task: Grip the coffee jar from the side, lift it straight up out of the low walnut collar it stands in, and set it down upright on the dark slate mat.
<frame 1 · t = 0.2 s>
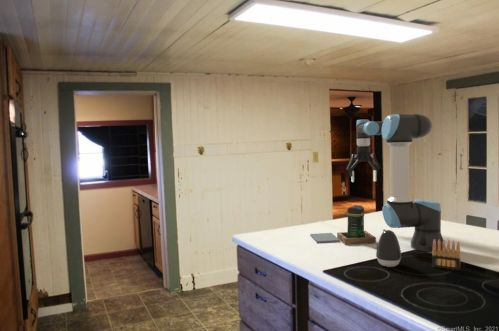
hand: (363, 181, 245), 27 cm above the worktop, tool pointing down, fingers open, 13 cm apart
grey egg shaped container: (388, 265, 176), on the worktop
slate mat: (324, 238, 223), on the worktop
coffee jar: (356, 240, 217), resting in walnut collar
ammunition clip: (446, 268, 170), on the worktop
walnut collar: (356, 240, 217), on the worktop
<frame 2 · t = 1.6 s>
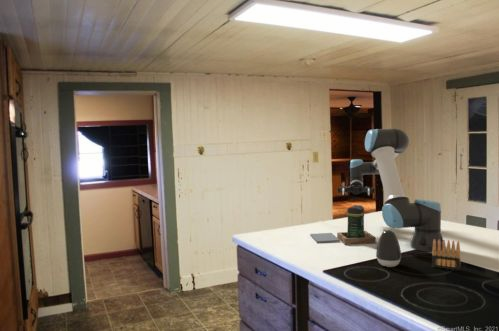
hand: (355, 192, 224), 24 cm above the worktop, tool horizontal, fingers open, 13 cm apart
nothing on the worktop moved.
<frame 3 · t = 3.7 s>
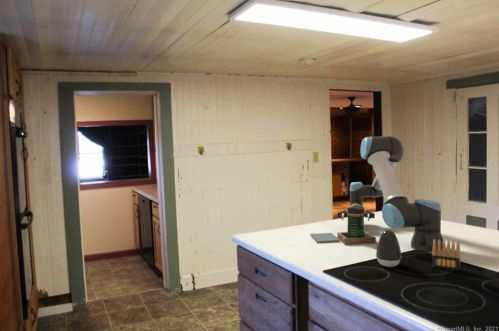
hand: (355, 218, 223), 10 cm above the worktop, tool horizontal, fingers open, 13 cm apart
nothing on the worktop moved.
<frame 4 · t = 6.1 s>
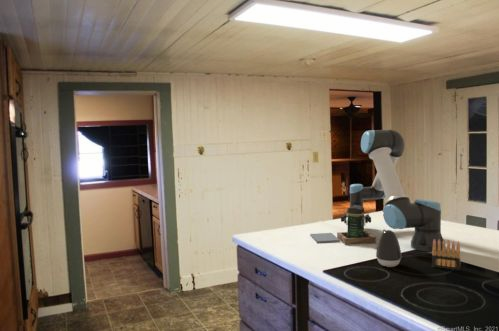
hand: (355, 222, 212), 11 cm above the worktop, tool horizontal, fingers closed on coffee jar, 8 cm apart
coffee jar: (356, 240, 217), resting in walnut collar, touching gripper
everything else where it was.
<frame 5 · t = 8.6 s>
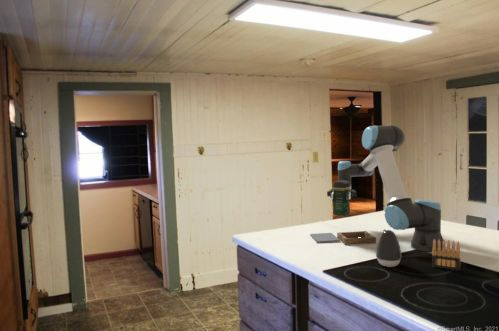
hand: (340, 196, 214), 24 cm above the worktop, tool horizontal, fingers closed on coffee jar, 8 cm apart
coffee jar: (341, 215, 220), point 13 cm above the worktop, touching gripper
everything else where it was.
when the fingers open (13 cm above the worktop, at t = 11.5 s): coffee jar drops 1 cm, resting on slate mat.
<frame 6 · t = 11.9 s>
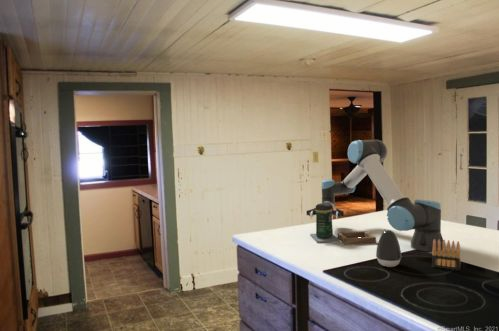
hand: (323, 216, 218), 13 cm above the worktop, tool horizontal, fingers open, 13 cm apart
coffee jar: (324, 237, 223), point 1 cm above the worktop, touching slate mat
everything else where it was.
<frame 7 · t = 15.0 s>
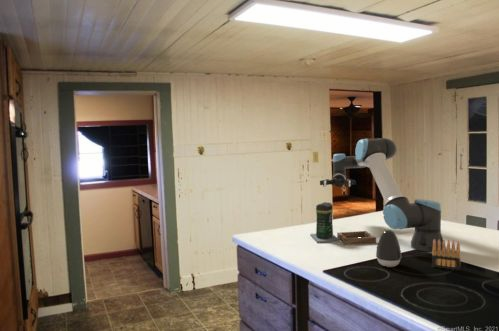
hand: (336, 184, 230), 28 cm above the worktop, tool horizontal, fingers open, 13 cm apart
nothing on the worktop moved.
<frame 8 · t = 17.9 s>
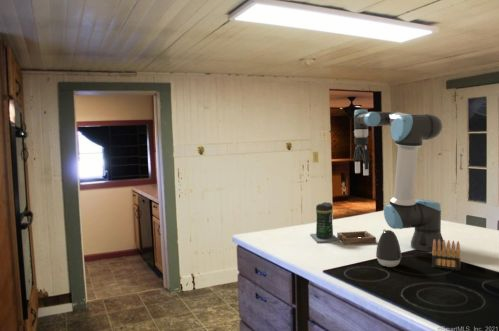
hand: (361, 174, 236), 33 cm above the worktop, tool pointing down, fingers open, 13 cm apart
nothing on the worktop moved.
at the end: coffee jar inside the target area on the slate mat (0.2 cm from its centre), point 0.8 cm above the slate mat's base; coffee jar tilted 0°; the gripper is holding nothing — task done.
